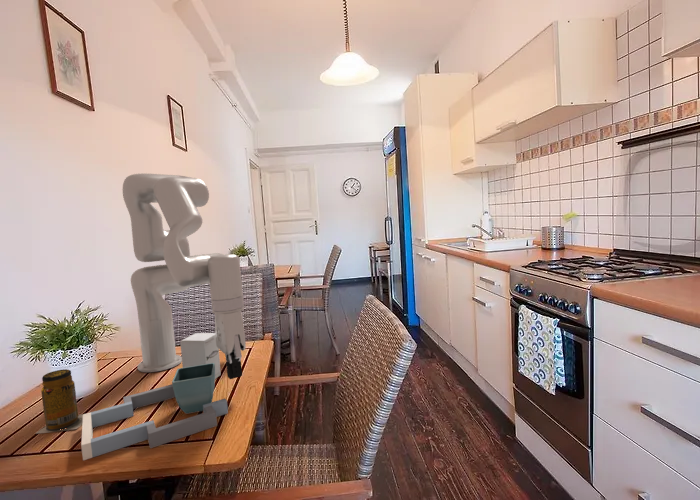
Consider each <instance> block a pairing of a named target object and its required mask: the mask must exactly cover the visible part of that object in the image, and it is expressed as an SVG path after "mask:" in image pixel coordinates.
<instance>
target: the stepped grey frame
mask: <svg viewBox="0 0 700 500" xmlns="http://www.w3.org/2000/svg"><path fill="white" fill-rule="evenodd" d="M173 398H176V397H175V393H174V389H173V385H172V384H167V385H164V386H161V387H156V388H153V389H149V390H145V391H141V392H138V393H134V394H129V395H126V396H123V403H120V404H116V405H112V406H109V407H106V408H102V409H98V410H94V411H90V412H87V413H84V414H83V423H82V425H81V427H82V428H81V429H82V430H81V443H80V447H81V454H82V461H86V460H89V459H92V458H96V457H99V456H101V455H104V454H107V453H111V452H114V451H116V450H119V449H122V448H126V447H129V446H131V445H136V444H137V443H138V444H139V443H140V442H144V441H146V440H147V442H148V445H149V448H150V449H152V448H156V447H159V446H161V445H165V444H168V443H170V442H174V441H176V440H179V439H182V438H185V437H187V436H188V437H189V436H191V435H193V434H197V433H201V432H202V431H207V430H209V429H211V428H214V427H218V421H217V420H218V419H217V417H220V416H224V415H226V414H227V415H228V414H229V410H228V408H229V407H228V400H227V399H226V398H222V399H218V400H216V401H215V400H214V401H212V402H211V403H208V404H205V405H203V411H202V412H203V413H199V414H196V415H193V416H190V417H187V418H184V419H180V420H177V421H174V422H170V423H168V424H165V425H161V426H158V427H156V424H155V423H156V422H155V421H154V419H153V420H150V421H146V422H142V423H139V424H137V425H132V426H130V427H127V428H124V429H119V430H117V431H113V432H110V433H107V434H103V435H100V436H97V437H93V435H94V434H93V432H94V430H93V428H97V427H100V426H104V425H107V424H110V423H114V422H118V421H121V420H124V419H128V418H131V417H134V416H135V415H134V410H135V409H139V408H142V407H145V406H149V405H152V404H156V403H160V402H164V401H168V400H171V399H173Z"/></svg>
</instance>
